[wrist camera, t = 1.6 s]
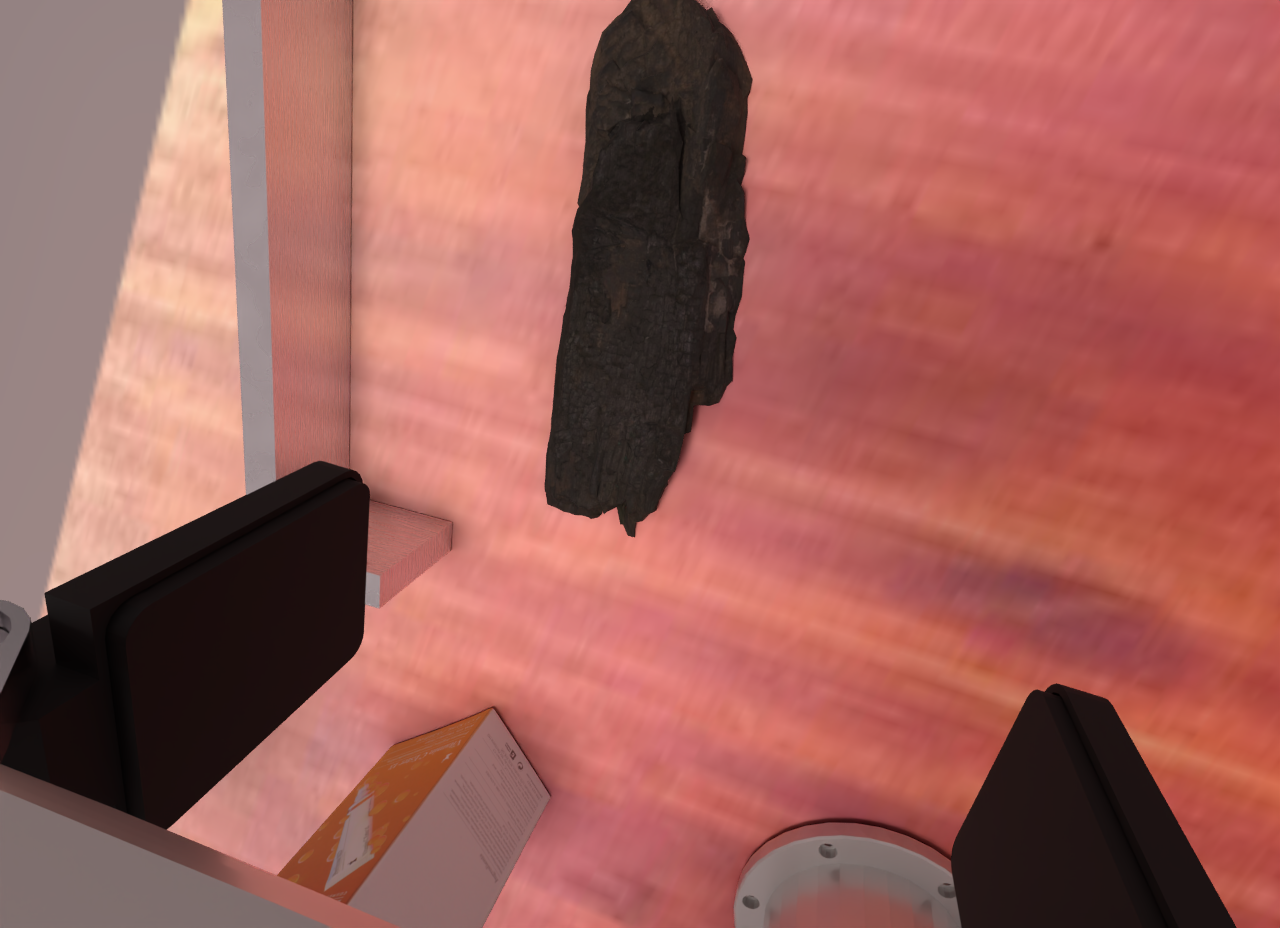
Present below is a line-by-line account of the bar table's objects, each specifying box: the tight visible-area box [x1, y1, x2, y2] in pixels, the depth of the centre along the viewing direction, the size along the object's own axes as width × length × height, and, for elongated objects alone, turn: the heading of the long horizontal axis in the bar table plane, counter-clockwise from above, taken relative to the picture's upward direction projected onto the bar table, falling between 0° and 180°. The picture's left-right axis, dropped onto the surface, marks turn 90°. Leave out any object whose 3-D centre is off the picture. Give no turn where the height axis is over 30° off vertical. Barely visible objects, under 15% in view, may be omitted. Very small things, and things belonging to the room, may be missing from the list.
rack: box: [222, 0, 452, 608], centre depth 29 cm, size 8×28×6 cm, turn 171°
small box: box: [277, 708, 550, 928], centre depth 34 cm, size 8×6×13 cm
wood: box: [545, 0, 752, 537], centre depth 28 cm, size 22×7×3 cm, turn 170°
